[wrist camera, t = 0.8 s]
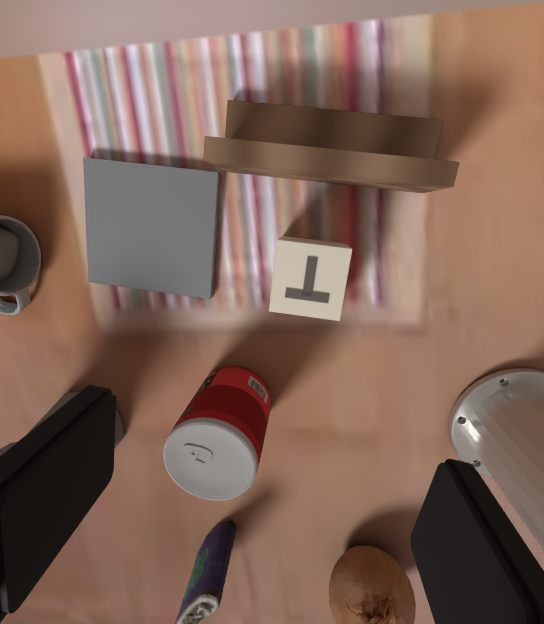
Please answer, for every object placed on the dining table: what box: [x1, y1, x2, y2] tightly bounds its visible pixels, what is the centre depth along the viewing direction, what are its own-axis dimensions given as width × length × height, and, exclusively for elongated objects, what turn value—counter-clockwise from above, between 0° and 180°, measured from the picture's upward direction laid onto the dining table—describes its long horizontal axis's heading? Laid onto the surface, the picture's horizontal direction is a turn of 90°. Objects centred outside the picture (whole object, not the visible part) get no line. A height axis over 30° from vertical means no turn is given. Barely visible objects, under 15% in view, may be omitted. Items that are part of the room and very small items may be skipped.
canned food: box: [163, 366, 271, 501], centre depth 33 cm, size 8×8×11 cm
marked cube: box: [269, 236, 352, 321], centre depth 31 cm, size 6×6×6 cm
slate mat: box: [83, 157, 221, 299], centre depth 34 cm, size 13×12×1 cm
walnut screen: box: [203, 100, 460, 193], centre depth 27 cm, size 18×6×7 cm, turn 84°
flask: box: [175, 519, 237, 624], centre depth 39 cm, size 9×3×11 cm, turn 151°
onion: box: [329, 545, 416, 624], centre depth 38 cm, size 10×9×10 cm
